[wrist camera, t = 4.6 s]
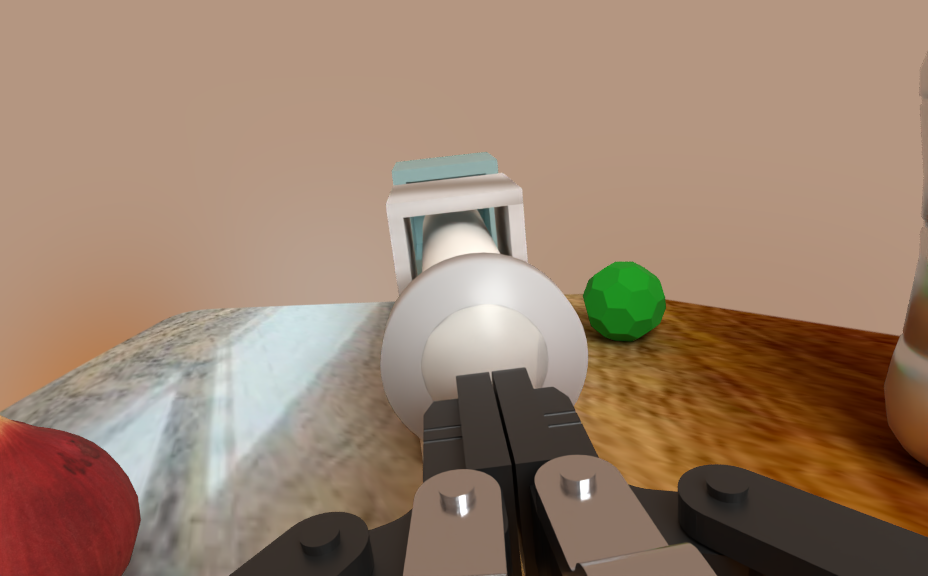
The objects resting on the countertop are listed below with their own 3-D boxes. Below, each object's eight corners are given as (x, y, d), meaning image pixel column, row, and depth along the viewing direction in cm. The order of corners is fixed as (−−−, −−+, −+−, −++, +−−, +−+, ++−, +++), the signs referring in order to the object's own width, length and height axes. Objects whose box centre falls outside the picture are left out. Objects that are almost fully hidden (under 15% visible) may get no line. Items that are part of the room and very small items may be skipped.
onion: (90, 548, 24) (26, 364, 22) (199, 577, 22) (141, 376, 20) (-79, 675, 19) (-186, 453, 17) (41, 730, 17) (-62, 483, 14)
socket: (514, 353, 38) (496, 159, 34) (418, 365, 38) (391, 171, 34) (502, 321, 44) (486, 151, 40) (419, 331, 43) (396, 162, 40)
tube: (592, 442, 16) (583, 251, 14) (396, 468, 16) (365, 277, 14) (505, 268, 33) (496, 172, 32) (410, 279, 33) (397, 184, 32)
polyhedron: (641, 318, 42) (639, 250, 40) (681, 342, 37) (681, 267, 36) (573, 331, 41) (568, 262, 39) (605, 358, 36) (602, 281, 35)
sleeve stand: (542, 449, 27) (521, 188, 24) (423, 464, 27) (385, 204, 24) (521, 389, 33) (502, 172, 30) (423, 402, 33) (393, 185, 30)
